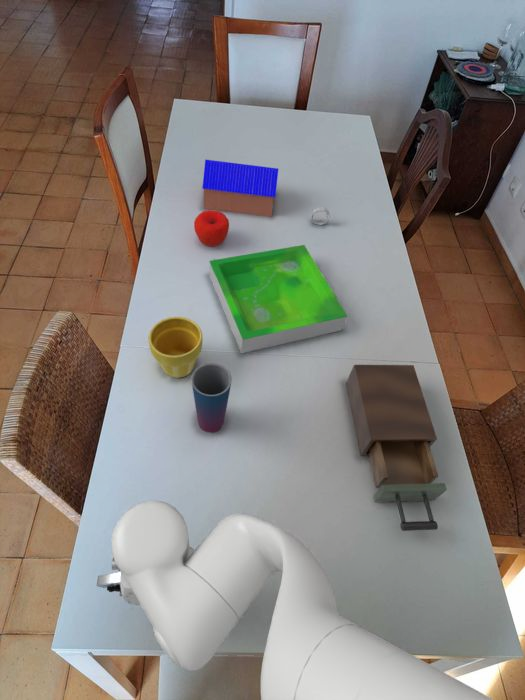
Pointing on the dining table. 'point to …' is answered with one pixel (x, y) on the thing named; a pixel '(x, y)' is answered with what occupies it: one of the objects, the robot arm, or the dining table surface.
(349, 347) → the dining table surface
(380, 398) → the cabinet
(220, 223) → the apple
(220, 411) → the cup
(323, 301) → the tray
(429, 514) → the drawer
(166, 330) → the flower pot
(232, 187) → the house
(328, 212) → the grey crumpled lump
